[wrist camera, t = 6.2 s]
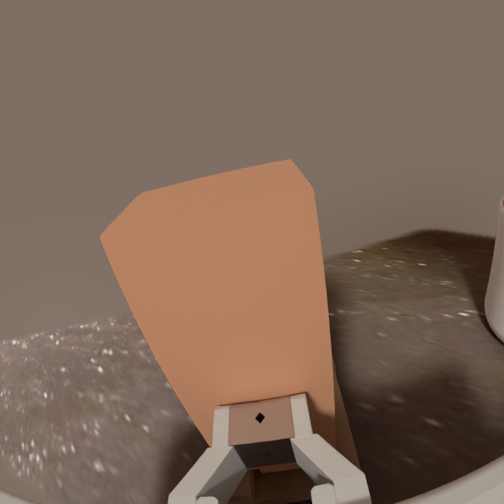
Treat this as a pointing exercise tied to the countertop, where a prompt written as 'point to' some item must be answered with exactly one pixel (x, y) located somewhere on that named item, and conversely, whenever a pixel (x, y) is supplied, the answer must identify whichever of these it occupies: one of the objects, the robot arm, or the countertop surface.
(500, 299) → the cup
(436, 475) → the countertop surface
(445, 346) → the countertop surface
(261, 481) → the beam
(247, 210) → the plate
